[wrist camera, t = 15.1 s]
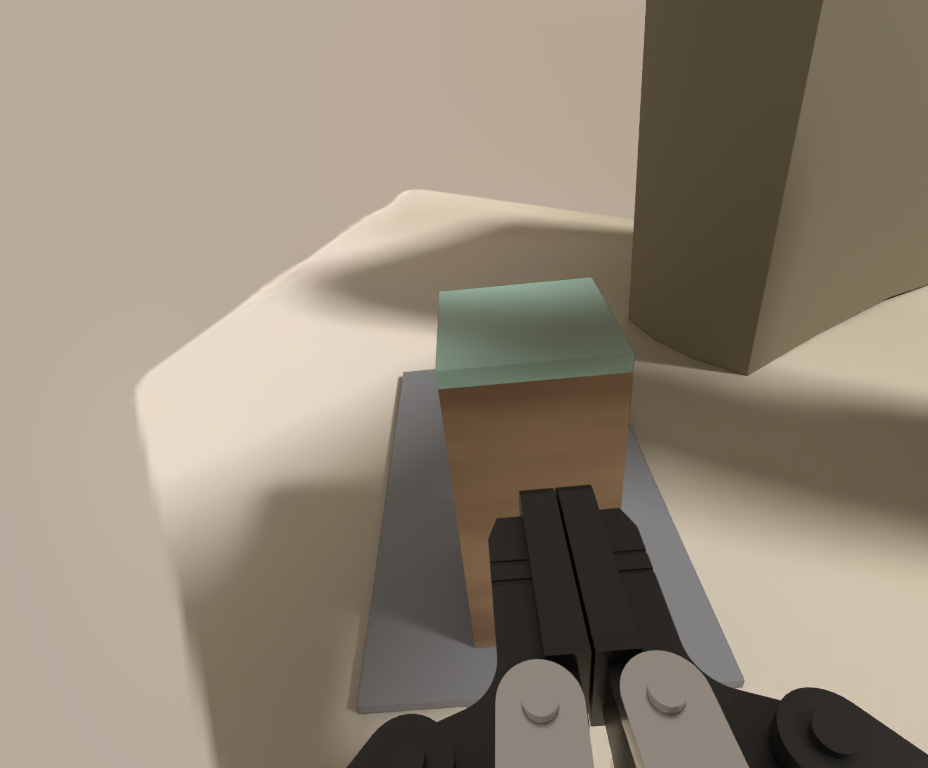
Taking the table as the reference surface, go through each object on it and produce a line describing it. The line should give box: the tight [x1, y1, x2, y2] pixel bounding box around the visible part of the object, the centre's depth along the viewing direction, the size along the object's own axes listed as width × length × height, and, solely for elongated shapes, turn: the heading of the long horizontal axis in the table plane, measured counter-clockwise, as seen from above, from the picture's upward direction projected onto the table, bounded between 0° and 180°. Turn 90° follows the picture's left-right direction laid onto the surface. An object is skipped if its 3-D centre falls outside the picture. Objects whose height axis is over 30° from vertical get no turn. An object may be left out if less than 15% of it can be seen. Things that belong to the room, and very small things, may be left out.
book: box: [629, 0, 928, 375], centre depth 31 cm, size 22×9×28 cm, turn 119°
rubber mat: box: [357, 369, 745, 714], centre depth 25 cm, size 20×12×1 cm, turn 1°
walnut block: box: [435, 277, 635, 648], centre depth 17 cm, size 4×4×11 cm
